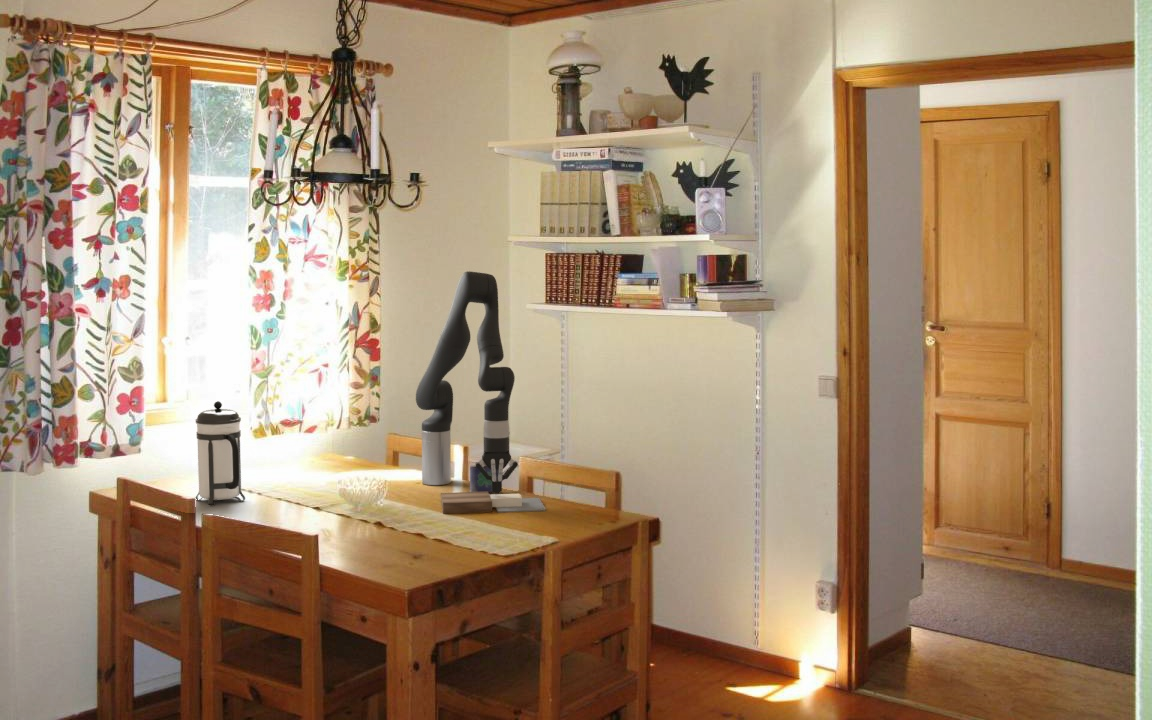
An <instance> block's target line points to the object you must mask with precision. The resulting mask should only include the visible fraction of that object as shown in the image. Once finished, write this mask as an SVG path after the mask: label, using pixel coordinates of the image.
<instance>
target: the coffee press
mask: <svg viewBox="0 0 1152 720" xmlns="http://www.w3.org/2000/svg"><path fill="white" fill-rule="evenodd" d="M222 406H223V403H222V402H221V401H215V402H214V403H213V407H214V409H207V410H203V411H202V412H199V414H198V415H197V418H196V419H195V424H196V439H197V469H198V471H197V472H198V473H197V475H198V493H197V495H196V496H195V497H194V499H195V498H196V499H197V500H196V499H195V500H196V502H198V499H199V498H198V497H199V496H200V497H201V498H200V499H199V501H201V500H202V499H204V500H205V499H206V500H208V501H207V505H214V506H215V503H216V501H217V500H219V501H220V500H228V499H236V500H238V502H240V503H242V502H244V501H245V500H246V496H245V495H244V494H243V493H242V492H243V491H242V472H241V466H242V465H241V434H242V433H241V429H240V428H241V427H240V423H241V422H242V420H241V419H242V418H241V417H240V416H239V413H238V412H237V411H235V410H233V409H228V408H222ZM239 496H241V498H240V497H239Z"/></svg>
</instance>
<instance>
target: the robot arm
mask: <svg viewBox="0 0 1152 720" xmlns="http://www.w3.org/2000/svg"><path fill="white" fill-rule="evenodd" d="M498 290H499V289H498V282H497V279H496V277H495V276H494V275H493V274H490V273H486V272H477V271H470V270H469V271H465V272H463V273H462V275H461V276H460V277H459V280H458V283H457V286H456V289H455V292H454V296H453V300H452V304H451V307H450V310H449V313H448V315H447V319H446V321H445V324H444V326H443V328H442V331H441V334H440V336H439V339H438V341H437V344H436V347H435V349H434V352H433V354H432V356H431V360H430V362H429V364H428V366H427V368H426V371H425V372H424V373H423V376H422V378H421V380H420V382H419V384H418V385H417V389H416V392H415V403H416V405H417V407H418V408H419V409H421V410H423V411H433V413H432V414H431V415H430V416H428V418H426V419H424V420H423V421H422V422H421V467H422V468H421V470H422V471H421V477H422V478H421V481H422V485H423V484H424V485H427V486H442V485H443V486H444V485H448V484H450V483H452V471H451V470H452V461H451V460H452V458H451V457H452V455H451V453H452V451H451V450H452V449H451V446H452V445H451V444H452V443H451V425H452V423H453V415H454V414H453V411H454V392H453V387H452V385H451V383H450V382H449V381H447V380H446V379H444V378H445V376H447V374H449V372H450V371H451V370H452V369H454V368H455V367H456V366H457V365H458V364H459V363H460V362H461V361H463V360H462V359H464V356H466V355H465V354H466V352H467V350H468V348H469V345H470V342H471V331H470V326H469V324H468V321H467V317H466V313H467V312H466V311H467V308H468V305H469V304H470V303H475V304H482V305H483V306H484V310H485V315H484V317H483V319H482V321H481V324H480V326H479V328H478V331H477V335H476V342H477V349H478V354H479V371H478V377H477V383H478V386H479V388H480V389H481V390H482V392H499V394H498V396H496V397H493V398H491V399H490V398H489V399H487V400H486V401H485V402H484V406H483V407H484V409H483V410H484V412H483V413H484V416H483V417H484V418H483V419H484V423H483V454H482V456H481V459H480V460H478V461H476V462H475V464H474V465H476V467H477V468H478V469H479V470H480V472H481V473H482V474H483V475H484V477H485V478H486V479H487V480H491V481H492V491H493V492H494V493H493V494H501V493H502V489H503V481H504V480H507V479H509V477H510V476H511V475H512V474H513V472H514V471H515V469H516V468H517V467H518V466H519V463H518V461H517V460H515V459H513V458H512V456H511V453H510V435H511V433H510V432H511V431H510V423H509V408H510V407H509V406H510V405H509V404H510V399H511V395H512V392H513V388H514V385H515V373H514V371H513V370H512V368H511V367H508V366H494V367H493V365H496V364H498V363H500V362H502V361H503V359H504V357H505V356H504V349H503V344H502V339H501V333H500V322H499V320H500V319H499V291H498ZM483 462H485V464H486V465H487V466H488V468H489V469H491V475H489V474H488V473H487V472H486V471H485V469H484V468H483V467H484V464H483ZM507 465H508V466H509V467H508V468H507V469H506V470H505V472H504V471H503V470H504V469H505V468H506V467H507ZM496 469H498V470H497V481H496ZM503 472H504V473H503Z"/></svg>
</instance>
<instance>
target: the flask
mask: <svg viewBox="0 0 1152 720" xmlns="http://www.w3.org/2000/svg"><path fill="white" fill-rule="evenodd" d="M483 464H484V467H483V468H484V469H485V471H486V472H487V473H488V474H489V475H491V469H489V468H488V466H487V465H486V464H485V462H483ZM497 470H498V469H496V481H497ZM487 491H488V493H489V495H490V494H494V492H493V491H492V481H491V480H487V479H486V478H485V477H484V475H483V474H482V473H481V472H480V470H479V469H478V468H477V467H476V465H475V464H472V465H470V466H469V492H487Z"/></svg>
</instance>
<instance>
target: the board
mask: <svg viewBox="0 0 1152 720" xmlns="http://www.w3.org/2000/svg"><path fill="white" fill-rule="evenodd" d="M440 504H441V510H442V514H466V513H471V514H472V513H493V507H492V500H491V498H490V494H489V493H488V491H487V492H470V491H463V492H461V491H460V492H459V491H458V492H440Z"/></svg>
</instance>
